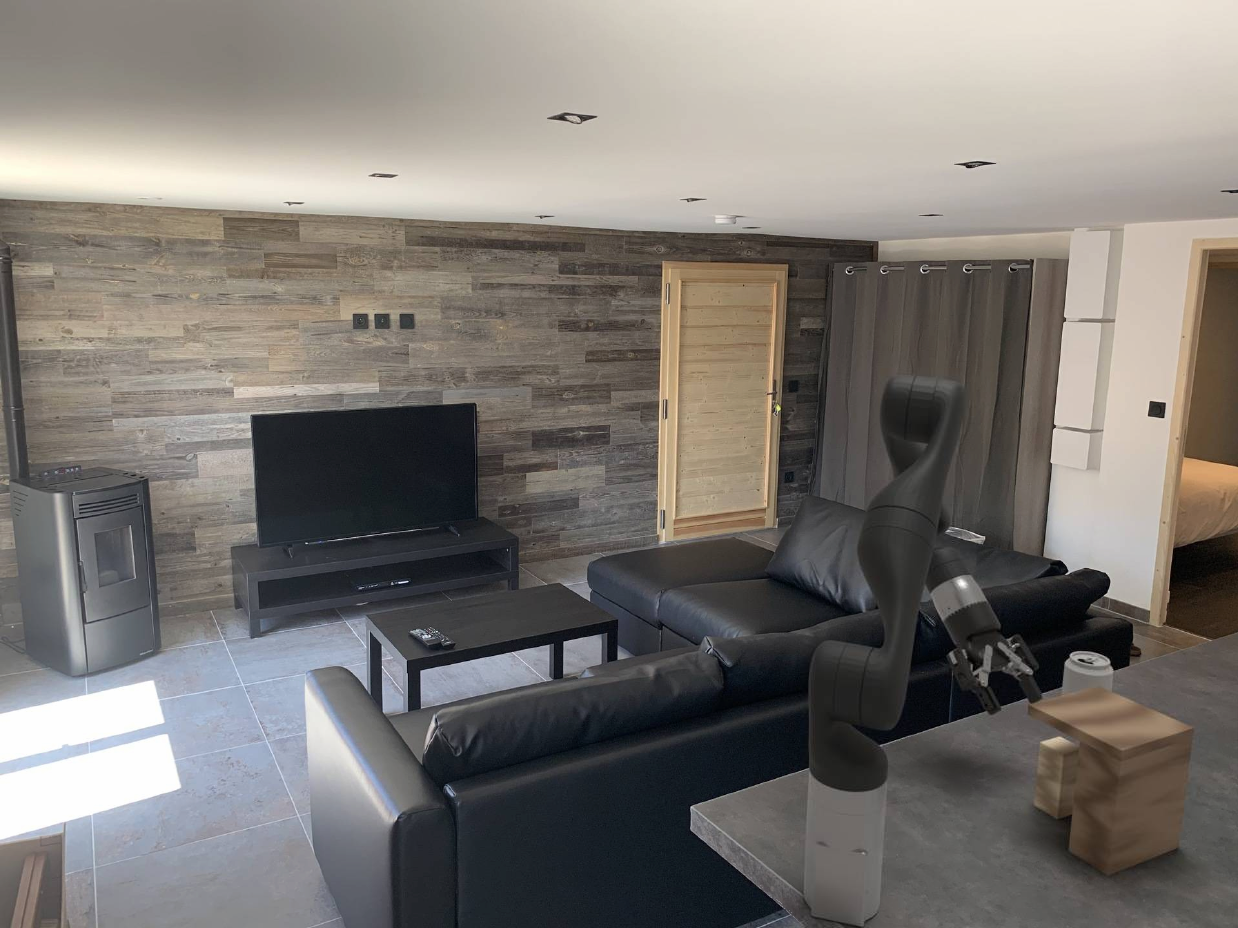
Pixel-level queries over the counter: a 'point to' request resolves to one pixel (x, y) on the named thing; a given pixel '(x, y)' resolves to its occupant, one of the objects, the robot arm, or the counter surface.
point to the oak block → (1056, 777)
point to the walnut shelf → (1122, 776)
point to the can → (1086, 672)
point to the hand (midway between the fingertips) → (1017, 707)
